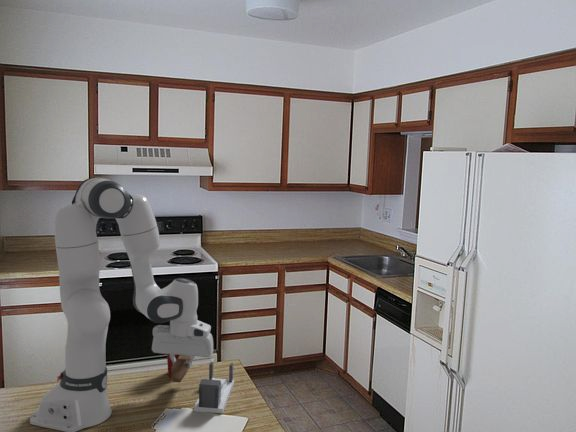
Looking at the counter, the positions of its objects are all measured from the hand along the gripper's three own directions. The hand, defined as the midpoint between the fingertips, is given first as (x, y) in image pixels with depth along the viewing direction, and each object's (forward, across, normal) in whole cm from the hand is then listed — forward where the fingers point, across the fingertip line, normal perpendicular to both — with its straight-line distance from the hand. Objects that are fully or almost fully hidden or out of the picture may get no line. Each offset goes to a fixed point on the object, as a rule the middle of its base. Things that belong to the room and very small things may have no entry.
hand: (182, 366), depth 165 cm
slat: (+2, 0, 0) cm, 2 cm away
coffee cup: (+8, -5, +13) cm, 16 cm away
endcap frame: (+8, +12, -2) cm, 15 cm away
